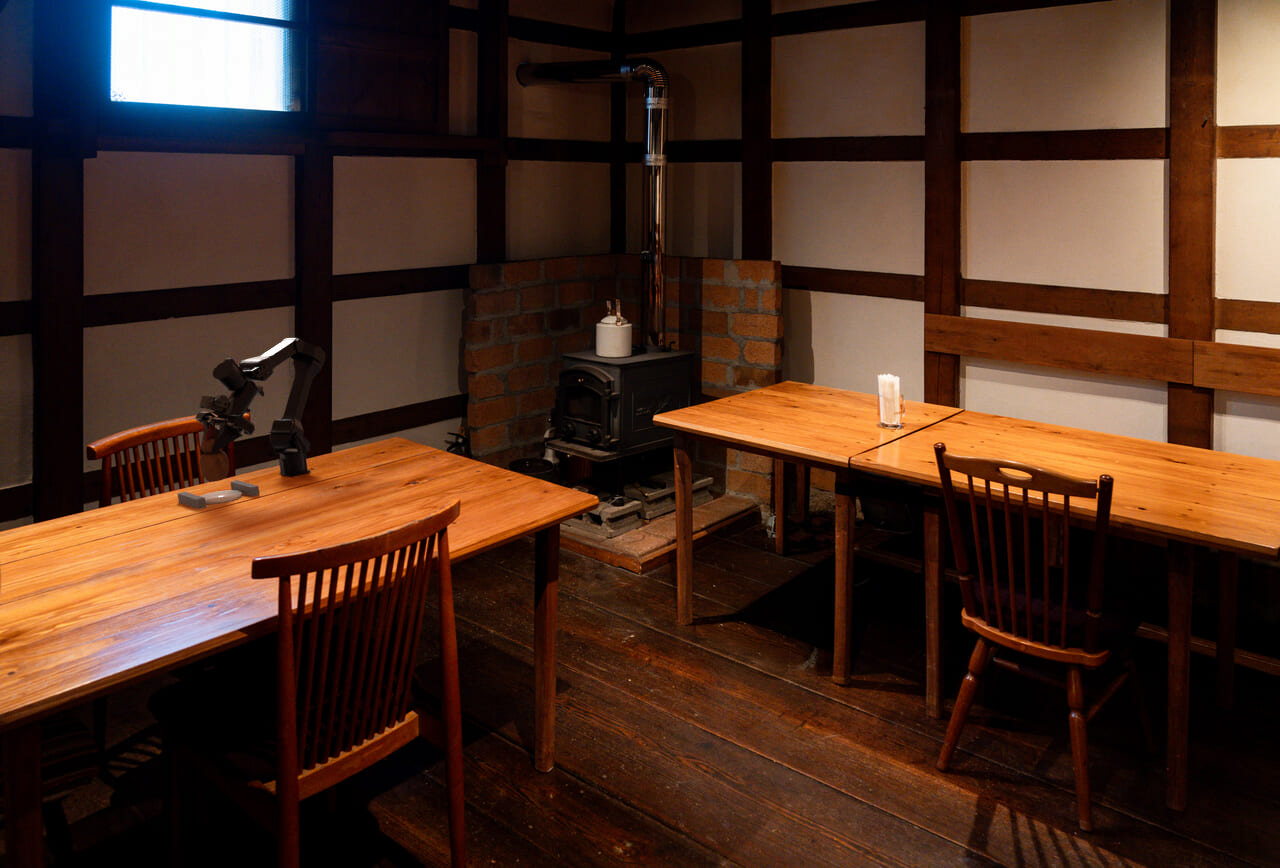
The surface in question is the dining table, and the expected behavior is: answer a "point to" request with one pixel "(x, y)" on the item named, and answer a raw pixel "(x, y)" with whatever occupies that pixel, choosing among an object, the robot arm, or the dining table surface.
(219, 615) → the dining table surface
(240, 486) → the twin grey foam blocks
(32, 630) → the dining table surface
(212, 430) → the wooden figurine
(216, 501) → the coaster
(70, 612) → the dining table surface
